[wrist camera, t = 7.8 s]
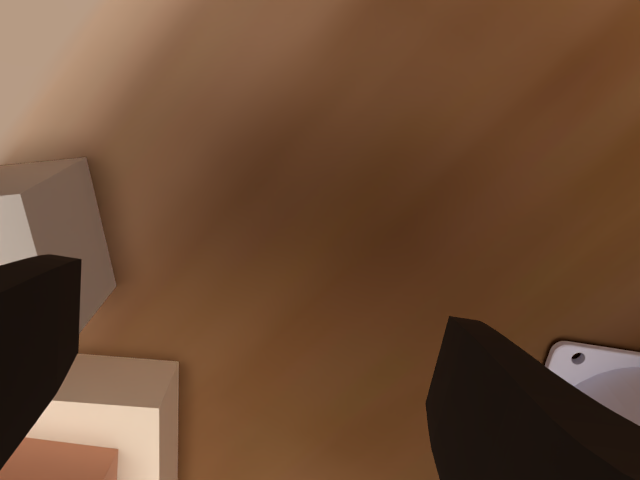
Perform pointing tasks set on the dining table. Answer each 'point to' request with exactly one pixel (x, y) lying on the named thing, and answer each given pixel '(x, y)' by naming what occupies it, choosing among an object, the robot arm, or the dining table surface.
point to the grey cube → (56, 223)
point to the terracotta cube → (60, 462)
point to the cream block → (119, 413)
